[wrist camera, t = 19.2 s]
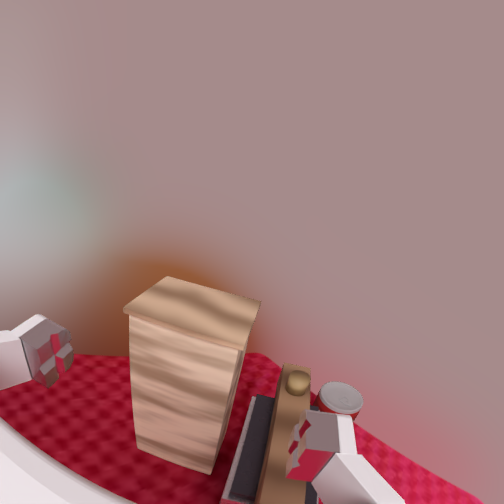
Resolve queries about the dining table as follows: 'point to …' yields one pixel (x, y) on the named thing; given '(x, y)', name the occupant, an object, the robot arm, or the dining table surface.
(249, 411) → the grey box
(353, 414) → the canned food
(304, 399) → the bar
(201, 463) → the shelf block
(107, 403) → the dining table surface
